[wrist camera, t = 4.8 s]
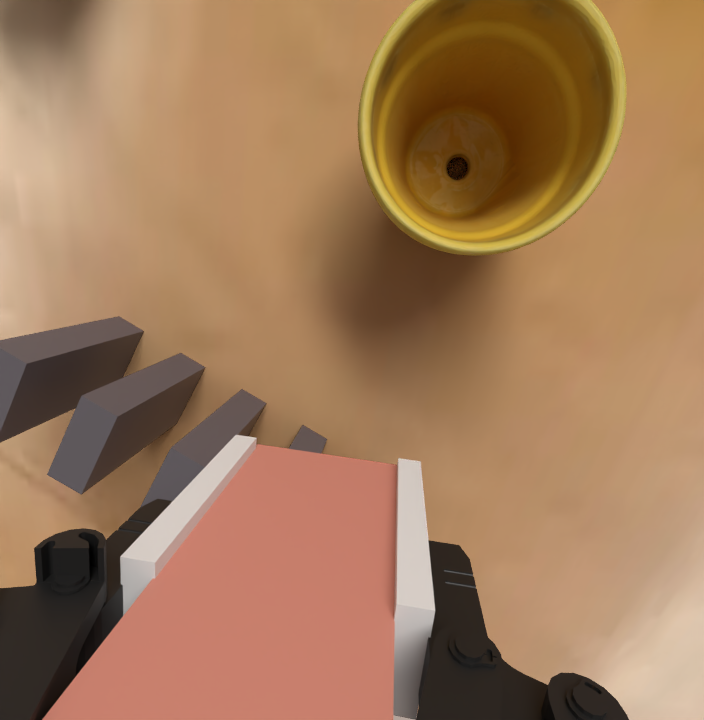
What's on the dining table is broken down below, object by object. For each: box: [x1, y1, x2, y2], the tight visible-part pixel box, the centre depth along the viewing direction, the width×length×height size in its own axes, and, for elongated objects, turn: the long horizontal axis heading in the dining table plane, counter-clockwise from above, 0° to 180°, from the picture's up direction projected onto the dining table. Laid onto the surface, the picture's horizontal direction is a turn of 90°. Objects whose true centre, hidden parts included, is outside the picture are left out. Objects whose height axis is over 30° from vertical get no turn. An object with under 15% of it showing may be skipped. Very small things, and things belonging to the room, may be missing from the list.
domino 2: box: [47, 353, 205, 494], centre depth 27 cm, size 2×5×10 cm, turn 149°
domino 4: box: [42, 444, 397, 720], centre depth 11 cm, size 2×5×10 cm, turn 84°
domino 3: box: [141, 389, 266, 507], centre depth 27 cm, size 2×5×10 cm, turn 150°
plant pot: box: [358, 0, 626, 255], centre depth 22 cm, size 10×10×10 cm
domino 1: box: [0, 317, 144, 442], centre depth 27 cm, size 2×5×10 cm, turn 150°
